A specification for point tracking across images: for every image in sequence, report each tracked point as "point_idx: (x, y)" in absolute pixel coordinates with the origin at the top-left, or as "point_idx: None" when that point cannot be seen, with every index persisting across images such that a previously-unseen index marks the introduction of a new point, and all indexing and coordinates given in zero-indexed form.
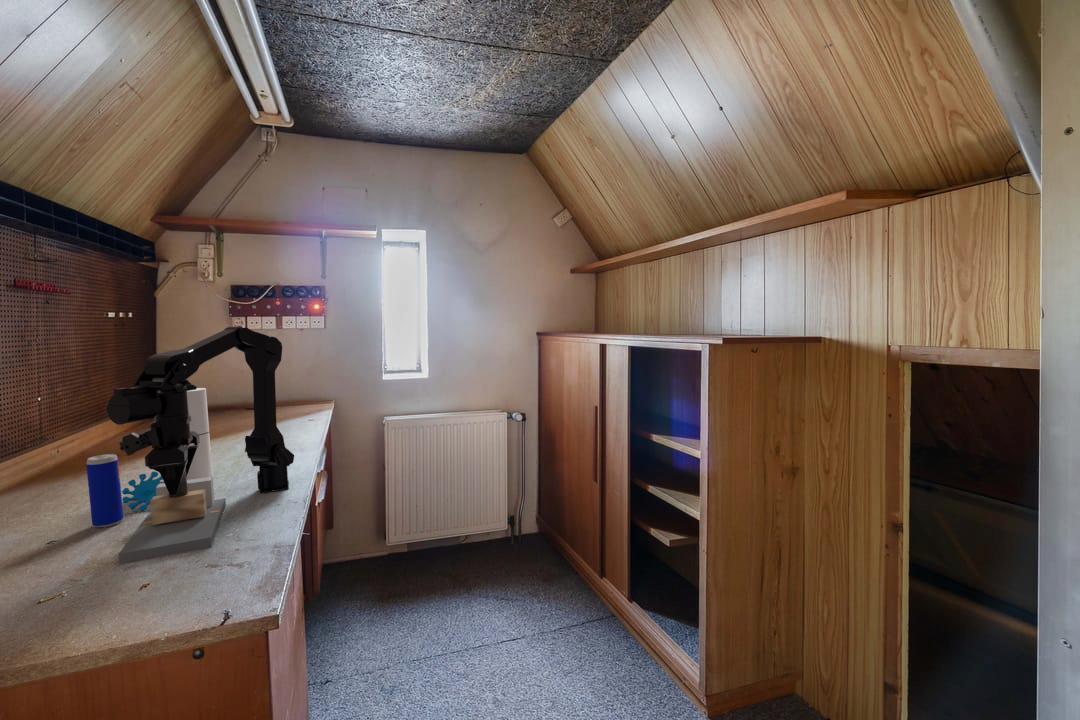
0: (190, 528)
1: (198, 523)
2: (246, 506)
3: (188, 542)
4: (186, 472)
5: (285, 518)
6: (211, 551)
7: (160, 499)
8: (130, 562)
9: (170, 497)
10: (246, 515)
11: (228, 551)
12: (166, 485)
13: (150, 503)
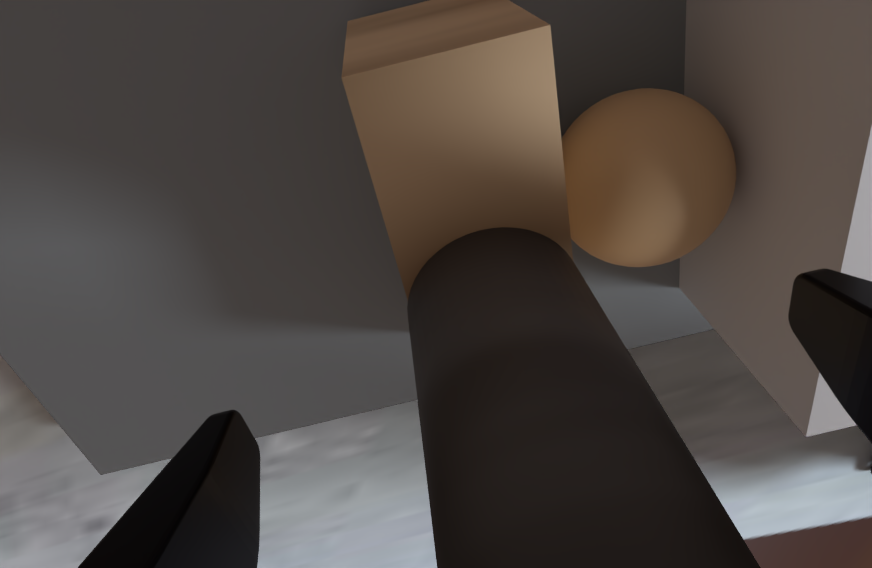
0: (254, 326)
1: (342, 334)
2: (704, 377)
3: (40, 395)
4: (869, 425)
5: (433, 565)
6: (73, 445)
7: (388, 182)
8: None
9: (423, 268)
10: None
11: (74, 504)
12: (113, 538)
13: (343, 73)
